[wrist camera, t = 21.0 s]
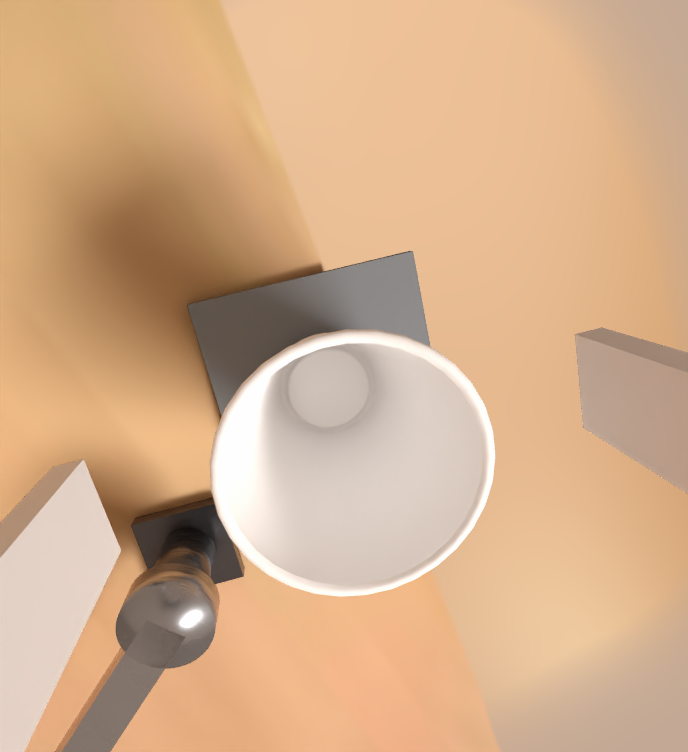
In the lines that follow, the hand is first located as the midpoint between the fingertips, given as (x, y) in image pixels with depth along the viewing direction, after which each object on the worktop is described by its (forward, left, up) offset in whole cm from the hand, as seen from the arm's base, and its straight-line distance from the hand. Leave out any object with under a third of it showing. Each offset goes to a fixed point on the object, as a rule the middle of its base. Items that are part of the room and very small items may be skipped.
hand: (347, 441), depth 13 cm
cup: (+3, 0, -15) cm, 15 cm away
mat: (+3, 0, -15) cm, 15 cm away
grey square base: (+10, -10, -15) cm, 21 cm away
